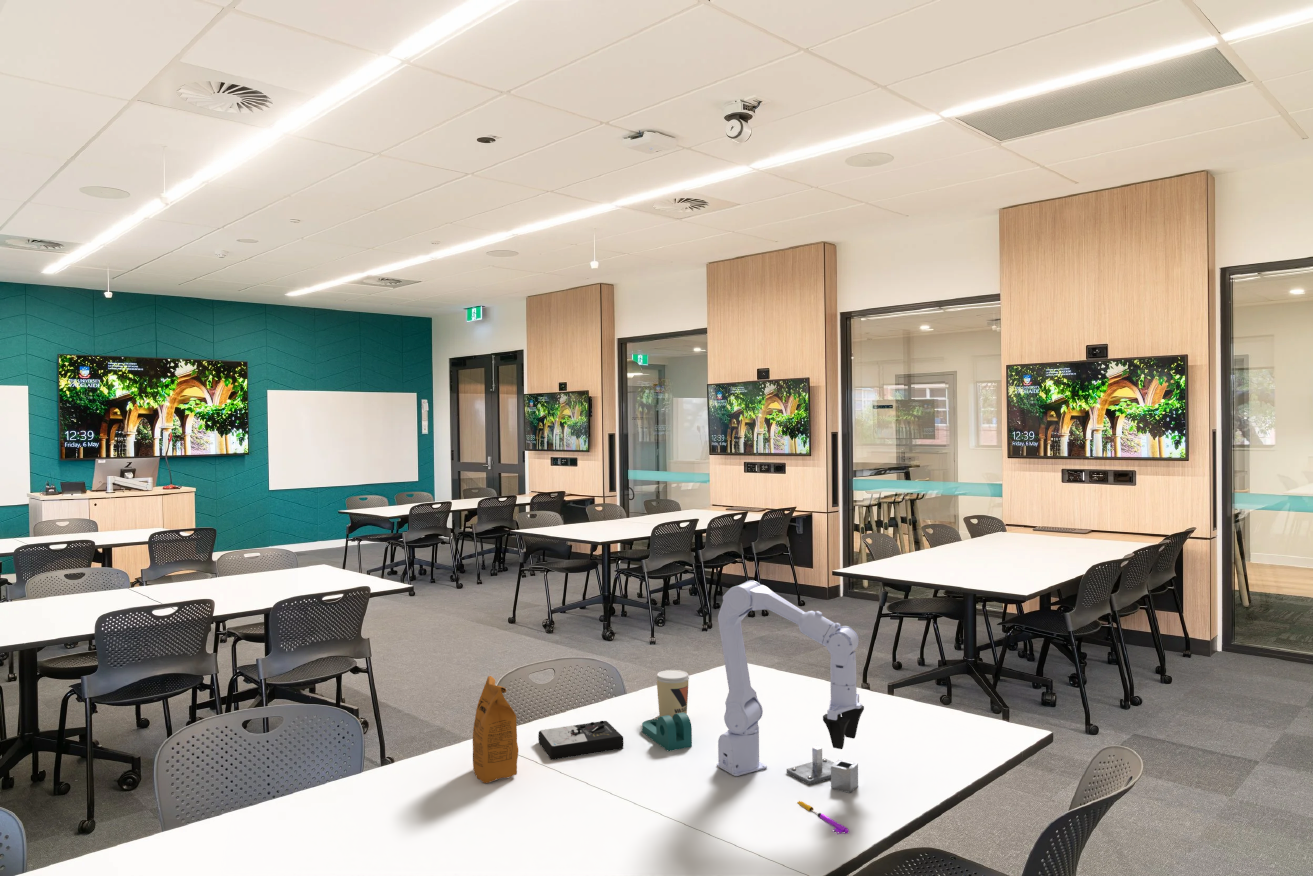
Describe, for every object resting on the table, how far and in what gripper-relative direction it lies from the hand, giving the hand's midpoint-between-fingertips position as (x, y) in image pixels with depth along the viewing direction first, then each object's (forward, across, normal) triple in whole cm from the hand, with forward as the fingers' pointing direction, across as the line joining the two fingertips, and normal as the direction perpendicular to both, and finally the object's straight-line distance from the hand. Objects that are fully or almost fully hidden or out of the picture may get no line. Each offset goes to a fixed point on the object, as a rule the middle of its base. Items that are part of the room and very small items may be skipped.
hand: (844, 742), depth 189 cm
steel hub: (+10, 0, 0) cm, 10 cm away
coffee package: (+10, -36, +73) cm, 82 cm away
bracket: (+10, +4, +51) cm, 53 cm away
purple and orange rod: (+11, -18, -1) cm, 21 cm away
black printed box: (+10, -12, +67) cm, 69 cm away
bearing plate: (+10, +4, +8) cm, 13 cm away
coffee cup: (+10, +20, +58) cm, 63 cm away
